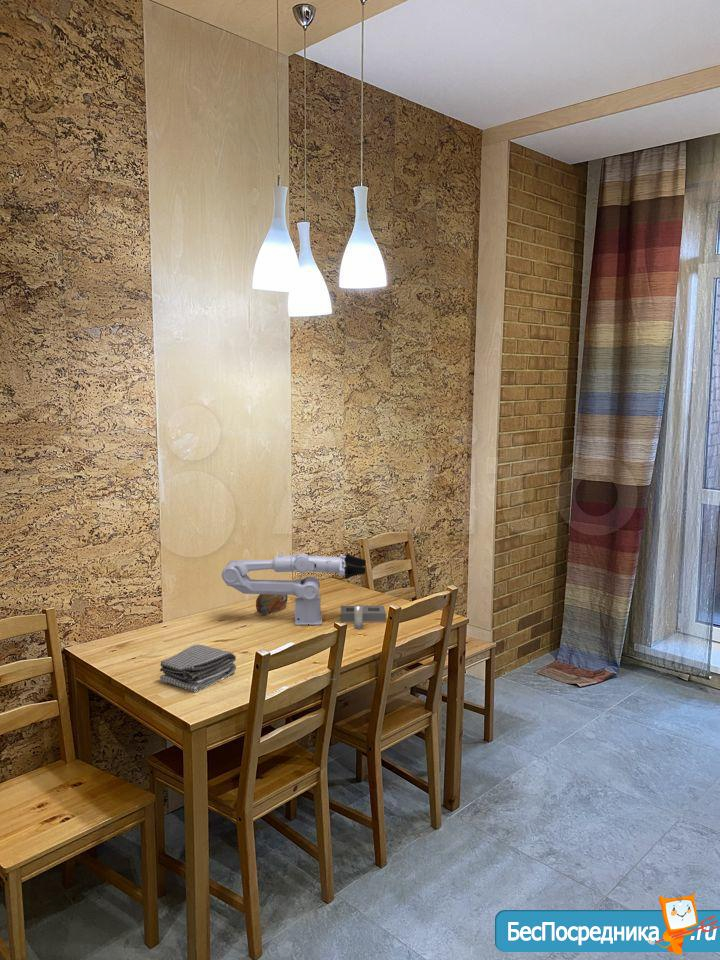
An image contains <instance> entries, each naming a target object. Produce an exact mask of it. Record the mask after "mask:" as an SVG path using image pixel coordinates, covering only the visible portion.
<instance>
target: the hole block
mask: <svg viewBox="0 0 720 960" xmlns="http://www.w3.org/2000/svg"><path fill="white" fill-rule="evenodd" d="M354 606H355V605H341V606H340V623H341V622H346V623H345V624H354ZM362 606H363V624H368V623H369V624H372V623H375V624H376V623H378V624H379V623H380V624H381V623H383V624H384V623H385V624H386V617H387V616H386V609H385V605H362Z"/></svg>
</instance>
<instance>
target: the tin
mask: <svg viewBox="0 0 720 960" xmlns="http://www.w3.org/2000/svg"><path fill="white" fill-rule="evenodd" d="M288 597H289V596H288V595H278V594H258V596H257V597H256V599H255V608H256V612H257V613H258V614H260V615H264V616H269V615H272V614H274V613H277V612H279V610H280V611H282V610H283V609H285V607H286V606H287V603H288ZM276 611H277V612H276ZM271 613H272V614H271ZM268 614H269V615H268Z"/></svg>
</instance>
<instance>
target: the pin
mask: <svg viewBox="0 0 720 960" xmlns="http://www.w3.org/2000/svg"><path fill="white" fill-rule="evenodd" d="M353 606H354V623H353V629H354V630H363V628H364V627H363V625H364V623H363V606H364V605H362V604H355V605H353Z"/></svg>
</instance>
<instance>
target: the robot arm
mask: <svg viewBox="0 0 720 960" xmlns="http://www.w3.org/2000/svg"><path fill="white" fill-rule="evenodd" d="M345 554H346V555H343V554H342V553H340V556H327V555H326V556H323V555H308V554H306V553H301V552H299V553H298V554H295V553H293V554H292V555H284V554H283V553H281V554H278V555H276V556H274V557H273V559H238V560H230V561H229V562H227V564H226V566H225V568H223V570H222V571H221V578H222V580H223V581H224V583H225V585H226V586H228V587H231V588H233V589H235V590H236V591H238V592H241V594H245V595H260V594H278V595H287V596H290V595H291V596H294V597H295V599H294V614H293V615H294V625H295V626H312V625H313V626H318V625H319V626H321V625H322V623H323V617H322V615H321V614H322V613H321V612H322V611H321V610H322V609H321V603H322V602H321V599H322V598H321V594H319V592H320V586H321V583H320V581H319V579H318V578H316V577H314V576H307V577H304V578H298V579H294V580H287V579H286V580H285V579H284V580H283V579H282V580H280V579H251V578H250V576H248V575H247V574H248V573H249V572H253V571H264V570H273V571H274V572H276V573H288V572H295V571H297V572H299V573H301V574H305V573H307V572H314V573H329V574H338V576H344V579H349V578H351V577H354V576H360V575H364V574H366V559H364V558H359V557H357V556H354V555H352V554H350V553H348V552H346V553H345ZM308 624H309V625H308Z"/></svg>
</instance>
